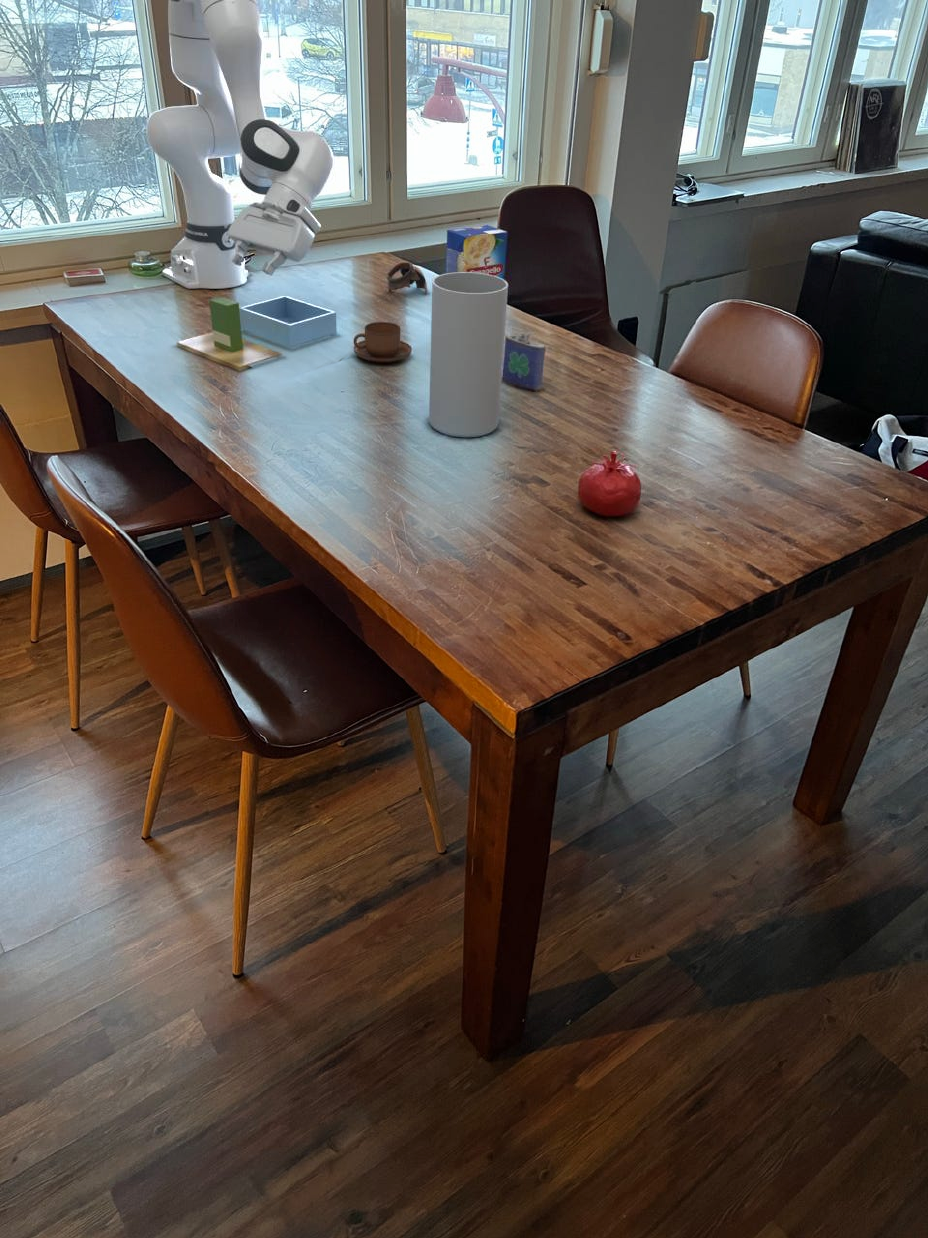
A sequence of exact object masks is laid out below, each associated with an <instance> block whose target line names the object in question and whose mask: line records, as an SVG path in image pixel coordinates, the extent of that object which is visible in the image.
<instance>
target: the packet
mask: <svg viewBox="0 0 928 1238" xmlns="http://www.w3.org/2000/svg"><path fill="white" fill-rule="evenodd" d="M208 302H209V310H210V311H209V312H210V320H211V327H212V328H211V329H212V332H213V338H214V346H216V347H218V348H221V349H224V350H226V351H229V352H231V353H232V352H236V351H239V350H242V349H243V343H242V339H243V334H242V333H243V332H242V329H241V322H240V311H239V308H240V302H237V301H234V300H231V299H228V298H226V297H224V296H223V297H222V296H219V297H214V298H211V299H208Z"/></svg>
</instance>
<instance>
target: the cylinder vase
mask: <svg viewBox="0 0 928 1238" xmlns="http://www.w3.org/2000/svg"><path fill="white" fill-rule="evenodd" d="M508 291H509V283H508V282H507V280H506V279H505V278H504V279H502V278H499V277H496V276H493V275H489V274H483V273H473V272H455V273H447V274H446V273H442V274H439V275H437V276H435V277H433V279H432V280H431V317H430V318H431V321H430V323H431V324H430V362H429V363H430V366H429V367H430V368H429V402H428V403H429V408H428V412H429V413H428V421H429V424H430V426H431V427H433V429H434V430H436V431H438V432H439V433H441V434H444V435H447V436H450V437H456V438H457V437H458V438H477V437H482V436H485V435H488V434H490V433H493V432H494V431H495V430H496V429H497V427H498V426H499V420H500V409H501V408H500V407H501V392H502V390H501V389H502V376H503V363H504V352H505V337H506V336H505V335H506V319H507V306H508Z"/></svg>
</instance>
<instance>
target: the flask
mask: <svg viewBox="0 0 928 1238" xmlns="http://www.w3.org/2000/svg"><path fill="white" fill-rule="evenodd" d="M520 335H521V336H520ZM520 335H518V334H517V333H514V334H508V335H506V336H505V338H504V351H503V365H502V380H501V382H503V383H506V384H507V385H510V386H512V387H517V388H519V389H523V390H526V391H528V392H529V391H530V392H534V393H537V392H540V391H542V388H543V374H544V364H545V354H546V344H544V343H539V342H535V341H531V340H529V338H530V335H531V332H530V331H521V332H520Z"/></svg>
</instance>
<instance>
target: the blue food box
mask: <svg viewBox="0 0 928 1238" xmlns="http://www.w3.org/2000/svg"><path fill="white" fill-rule="evenodd" d="M507 243H508V231H506V230H504V229H501V228H498V227H496V226H495V227H494V226H492V225H489V224H483V225H477V226H476V225H475V226H468V227H461V228H454V229H446V253H445V254H446V255H445V256H446V257H445V274H447V273H455V272H473V273H483V274H489V275H493V276H496V277H499V278H502V279H504V280H505V273H506V262H507V261H506V260H507V246H508V245H507Z"/></svg>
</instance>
